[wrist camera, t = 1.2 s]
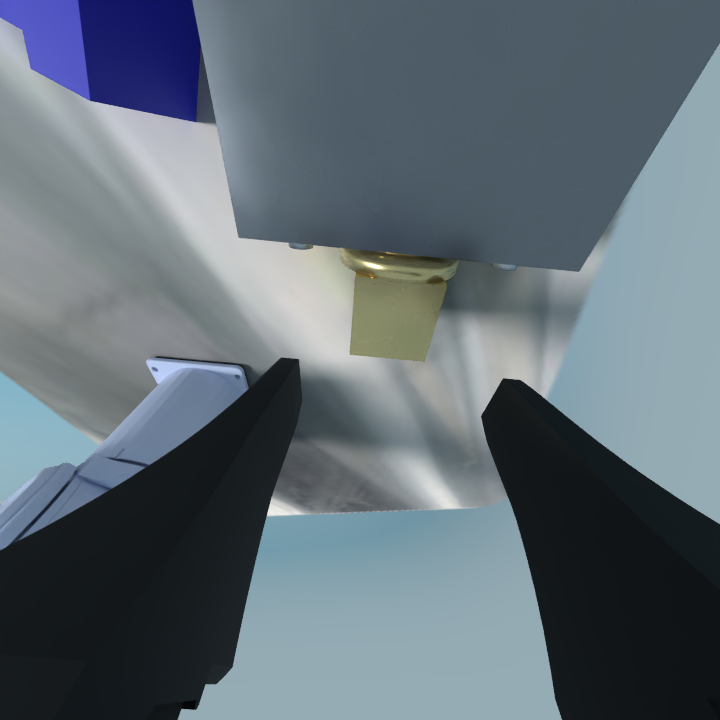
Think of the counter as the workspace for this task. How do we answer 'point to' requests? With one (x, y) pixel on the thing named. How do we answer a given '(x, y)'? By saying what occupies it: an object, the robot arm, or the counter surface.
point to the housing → (445, 118)
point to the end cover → (395, 302)
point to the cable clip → (115, 50)
